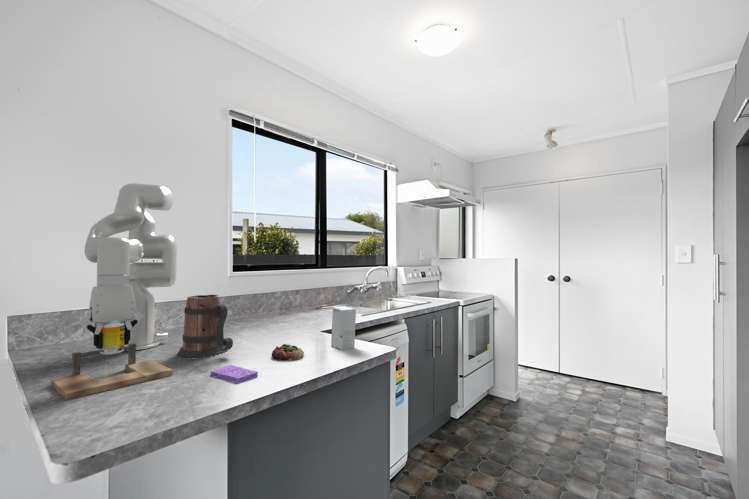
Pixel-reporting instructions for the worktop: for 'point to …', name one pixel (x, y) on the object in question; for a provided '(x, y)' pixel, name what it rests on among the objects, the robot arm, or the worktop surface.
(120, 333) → the supplement bottle
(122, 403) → the worktop surface
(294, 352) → the bread roll
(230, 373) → the sponges
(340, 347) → the skincare box
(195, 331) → the tankard
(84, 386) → the shelf board
